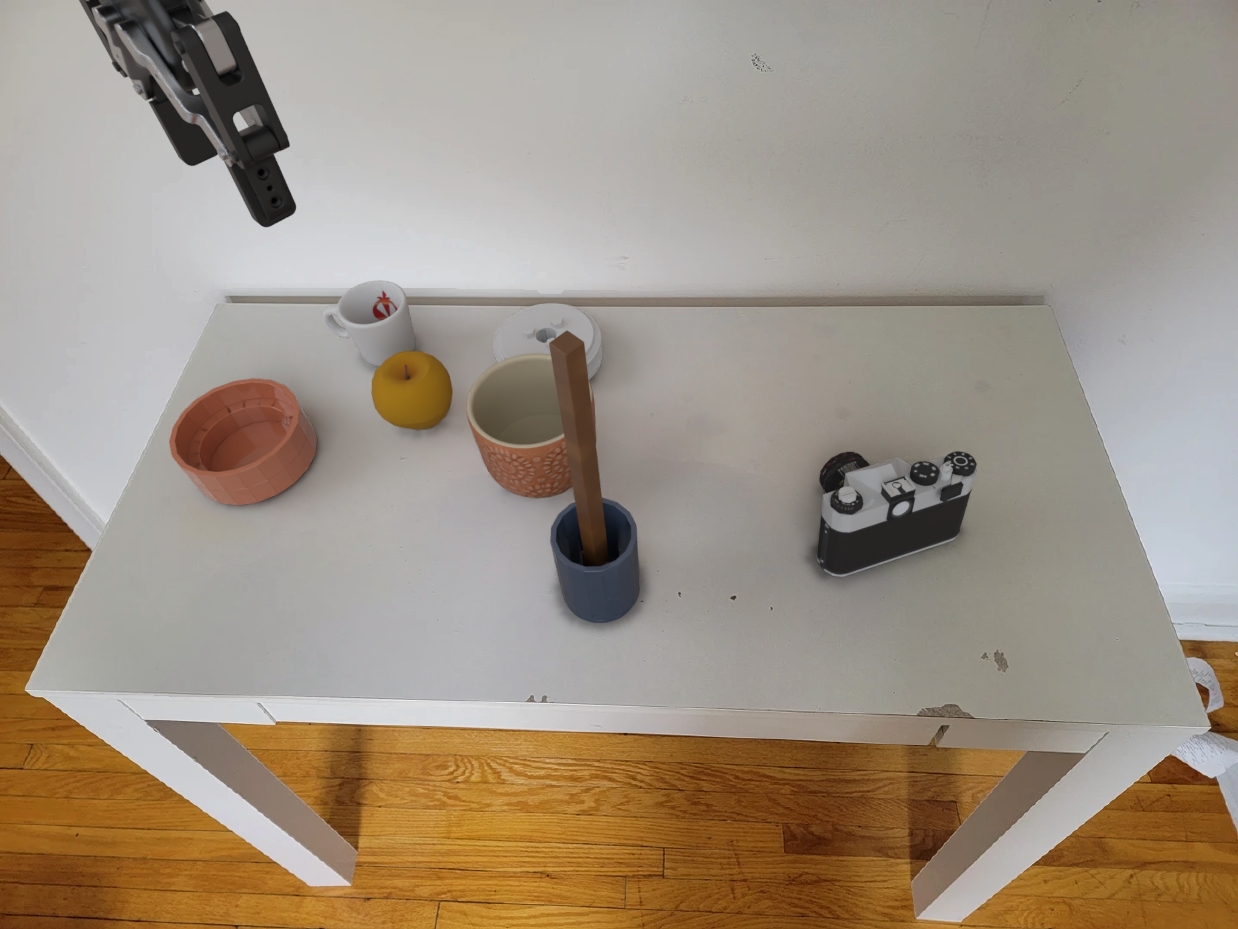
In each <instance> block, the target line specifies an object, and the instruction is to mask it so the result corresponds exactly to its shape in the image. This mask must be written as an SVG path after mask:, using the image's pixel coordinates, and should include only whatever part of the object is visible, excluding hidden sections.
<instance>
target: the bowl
mask: <svg viewBox="0 0 1238 929" xmlns="http://www.w3.org/2000/svg"><path fill="white" fill-rule="evenodd" d="M171 428H172V429H171V432H170V437H169V439H168V440H169V441H168V444H169V450H170V455H171V457H172V459H173V460H174V461H175V462H176V464H177V465H178V466H179V468H180V469H181V470H182V471H183V472H184V473H185V475H186V476H187V477H188V478H189V479H190V480H191V481H192V483H193V484H194V485H195V486H196V487H197V488H198V490H199V491H200V492H201V494H202V495H203V496H205V497H206V498H208V499H210V500H212V501H215V502H216V503H219V504H224V505H233V506H242V505H243V506H244V505H249V504H250V505H251V504H255V503H260V502H263V501H264V500H267V499H270V498H272V497H274V496H277V495H279V494H281V493H282V492H284V491H285V490H287V489H288V488H290V487H291V486H292V485H294V484H295V483H296V482H297V481H298V480H299V479H300V478H301V477H302V475H304V473H305V472H306V471H307V470H308V469H309V467H310V465H311V463H312V461H313V459H314V458H315V456H316V453H317V444H318V443H317V442H318V437H317V434H316V431H315V428H314V425H313V424H312V422H311V421H310V418H309V417H308V415H307V413H306V411H305V410H304V408H303V406H302V405H301V403H300V401H299V400H298V398H297V396H296V395H295V393H294V392H293V391H291V390H290V388H288V387H287V385H285V384H282V383H280V382H277V381H274V380H272V379H265V378H257V377H256V378H255V377H251V378H246V379H245V378H244V379H238V380H232V381H229V382H227V383H225V384H222V385H219V386H216V387H213V388H212V389H210V390H208V391H207V392H205V393H204V394H202V395H200V396H198V397H197V398H196V399H195V400H194V401H193V402H191V403H190V404H189V405H188V406H187V407H186V408H184V410H183V411H182V412H181V413H180V415H179V416H178V418H177V419H176V421H175V423H174V424H173V426H172V427H171Z"/></svg>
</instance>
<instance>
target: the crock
mask: <svg viewBox="0 0 1238 929" xmlns="http://www.w3.org/2000/svg"><path fill="white" fill-rule="evenodd" d="M602 503H603V511H604V520H605V529H606V538H607V546H608V555H609V563H608V564H605V565H603V566H592V567H585V566H583V562H582V556H581V551H582V550H583V546H582V540H581V534H580V528H579V522H578V516H577V510H576V504H575V501H574V502H572V503H570V504H568V505H567V506H566V507H565V508H564V509H562V510H561V511H559V513H558V514H557V515H556V517H555V519H554V521H553V524H552V525H551V527H550V539H549V543H550V546H551V551H552V555H553V559H554V564H555V569H556V573H557V578H558V582H559V587H560V590H561V594H562V597H563V600H564V602H565V604H566V606H567V608H568V609H569V610H570V611H571V612H572V614H573V615H575V616H576V617H578V618H579V619H581V620H583V621H585V622H589V623H593V624H607V623H611V622H614V621H617V620H619V619H622V617H624V616H625V615H627V614H628V613H629V612H630V611H631V610H632V609H633V607H635V604H636V603H637V601H638V599H639V594H640V590H641V588H640V587H641V584H640V563H639V562H640V560H639V545H638V544H639V542H638V526H637V523H636V521H635V519H634V517H633V515H632V513H631V512H630V510H628V509H627V508H626V507H625V506H623V505H622V504H621V503H619V502H618V501H616V500H613V499H609V498H606V497H602Z"/></svg>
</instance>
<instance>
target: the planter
mask: <svg viewBox="0 0 1238 929" xmlns="http://www.w3.org/2000/svg"><path fill="white" fill-rule="evenodd" d="M589 389H590V398H591V406H592V415H593V424H594V433H595V441H596V442H597V429H596V428H597V427H596V426H597V425H596V405H595V404H596V403H595V396H594V391H593V387H592V384H591V382H590V381H589ZM466 417H467V420H468V424H469V427H470V431H471V433H472V436H473V438H474V441H475V444H476V446H477V449H478V451H479V453H480V456H481V460H482V462H483V464H484V466H485V469H486V470H487V472H488V473H489V475H490V477H491V478H492V479H493V480H494V481H495V482H496V483H497V484H498V485H499V486H500V487H501V488H503V489H504V490H506V491H508V492H509V493H511V494H513V495H516V496H519V497H523V498H529V499H545V498H551V497H555V496H559V495H561V494H563V493H565V492H567V491H569V490H570V489H573V486H572V480H571V474H570V467H569V461H568V455H567V449H566V443H565V437H564V431H563V425H562V419H561V413H560V407H559V401H558V395H557V389H556V383H555V377H554V371H553V365H552V359H551V355H549V354H539V353H533V354H523V355H518V356H514V357H511V358H508V359H505V360H503V361H500V362H498V363H497V362H495V363H494V364H493V365H491V366H490V367H489V368H487V369H486V370H485V371H483V372H482V373H481V374H480V375H479V376H478V378H476V380H475V381H474V382H473V384H472V386H471V388H470V390H469V392H468V395H467V399H466Z"/></svg>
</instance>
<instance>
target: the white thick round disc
mask: <svg viewBox="0 0 1238 929" xmlns="http://www.w3.org/2000/svg"><path fill="white" fill-rule="evenodd" d="M567 330H568V331H569V332H571V333H572V334H574V335H575V336H576V337H578V338H579V339H581V340H582V341H584V345H585V354H586V363H587V371H588V380H589V381H590V380H591V379H592V378H593V377H594V376H595V374H596V373H597V372H598V370H599V369H600V367H601V364H602V361H603V356H604V355H603V354H604V352H603V345H602V331H601V329H600V327H599V324H598V322H597V321H596V320H595V319H594V317H592V316H591V314H589V313H588V312H586V311H585V310H583V309H581V308H579V307H576V306H574V305H570V304H566V303H556V302H546V303H539V304H538V303H537V304H534V305H530V306H528V307H525V308H522V309H521V310H518V311H516V312H514V313H513V314H511V315H510V316H508V317H507V318H506V319H505V320H504V321H503V322H502V323H501V324H500V325H499V327H498V328H497V329H496V332H495V334H494V337H493V340H492V352H493V355H494V359H495V361H496V362H495V363H498V362H500V361H503V360H505V359H508V358H511V357H514V356H518V355H523V354H533V353H539V354H549V355H551V353H550V347H549V343H550V342H551V341H552V340H554V339H555V338H557V337H558V336H559V335H561V334H562V333H564V332H565V331H567Z"/></svg>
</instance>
